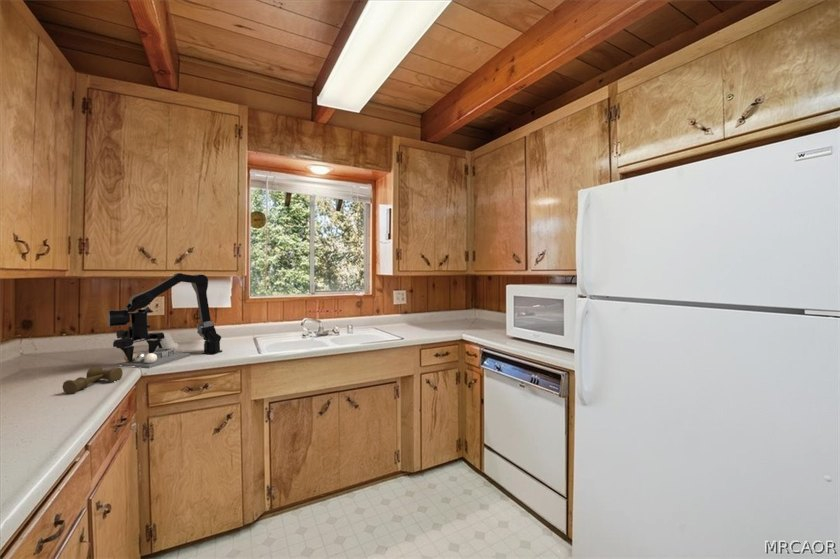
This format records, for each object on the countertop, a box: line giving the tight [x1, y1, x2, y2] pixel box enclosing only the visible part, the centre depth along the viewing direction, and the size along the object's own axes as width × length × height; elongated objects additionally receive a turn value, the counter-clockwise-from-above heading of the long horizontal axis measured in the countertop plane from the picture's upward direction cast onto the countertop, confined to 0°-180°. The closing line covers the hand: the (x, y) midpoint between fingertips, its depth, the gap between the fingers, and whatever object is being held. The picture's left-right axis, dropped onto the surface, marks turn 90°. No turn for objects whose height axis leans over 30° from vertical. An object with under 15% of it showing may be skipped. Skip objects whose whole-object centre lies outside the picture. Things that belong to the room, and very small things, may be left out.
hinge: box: [156, 332, 180, 350], centre depth 181 cm, size 17×5×10 cm, turn 23°
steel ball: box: [134, 352, 147, 363], centre depth 154 cm, size 4×4×4 cm
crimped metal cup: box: [147, 348, 177, 358], centre depth 166 cm, size 10×10×2 cm
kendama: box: [62, 365, 124, 395], centre depth 129 cm, size 6×10×20 cm
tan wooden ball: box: [123, 351, 137, 362], centre depth 155 cm, size 4×4×4 cm
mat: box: [118, 352, 192, 369], centre depth 161 cm, size 16×21×1 cm
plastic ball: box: [145, 353, 157, 363], centre depth 153 cm, size 4×4×4 cm
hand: (140, 358), depth 154 cm, fingers open, 9 cm apart
